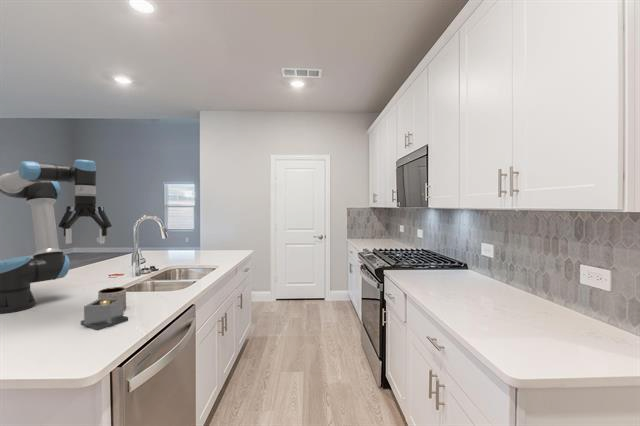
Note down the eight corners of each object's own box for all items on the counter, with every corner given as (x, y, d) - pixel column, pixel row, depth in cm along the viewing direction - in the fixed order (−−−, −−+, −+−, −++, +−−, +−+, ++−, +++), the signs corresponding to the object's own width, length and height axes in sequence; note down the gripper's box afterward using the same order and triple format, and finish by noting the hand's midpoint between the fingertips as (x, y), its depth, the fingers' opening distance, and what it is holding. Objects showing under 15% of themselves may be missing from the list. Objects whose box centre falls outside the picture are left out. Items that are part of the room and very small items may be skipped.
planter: (93, 315, 138) (93, 293, 137) (103, 307, 148) (103, 287, 148) (121, 313, 140) (121, 292, 140) (129, 306, 151) (129, 286, 151)
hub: (80, 324, 127) (80, 302, 127) (111, 315, 137) (111, 295, 137) (96, 330, 121) (96, 307, 121) (128, 320, 132) (128, 299, 132)
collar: (84, 323, 124) (84, 306, 124) (98, 315, 134) (98, 299, 134) (111, 323, 125) (111, 305, 125) (123, 314, 135) (123, 298, 135)
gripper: (47, 194, 132) (48, 244, 132) (111, 195, 135) (111, 244, 135) (60, 195, 139) (60, 242, 140) (120, 196, 142) (120, 242, 143)
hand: (85, 243), depth 137 cm, fingers open, 13 cm apart
